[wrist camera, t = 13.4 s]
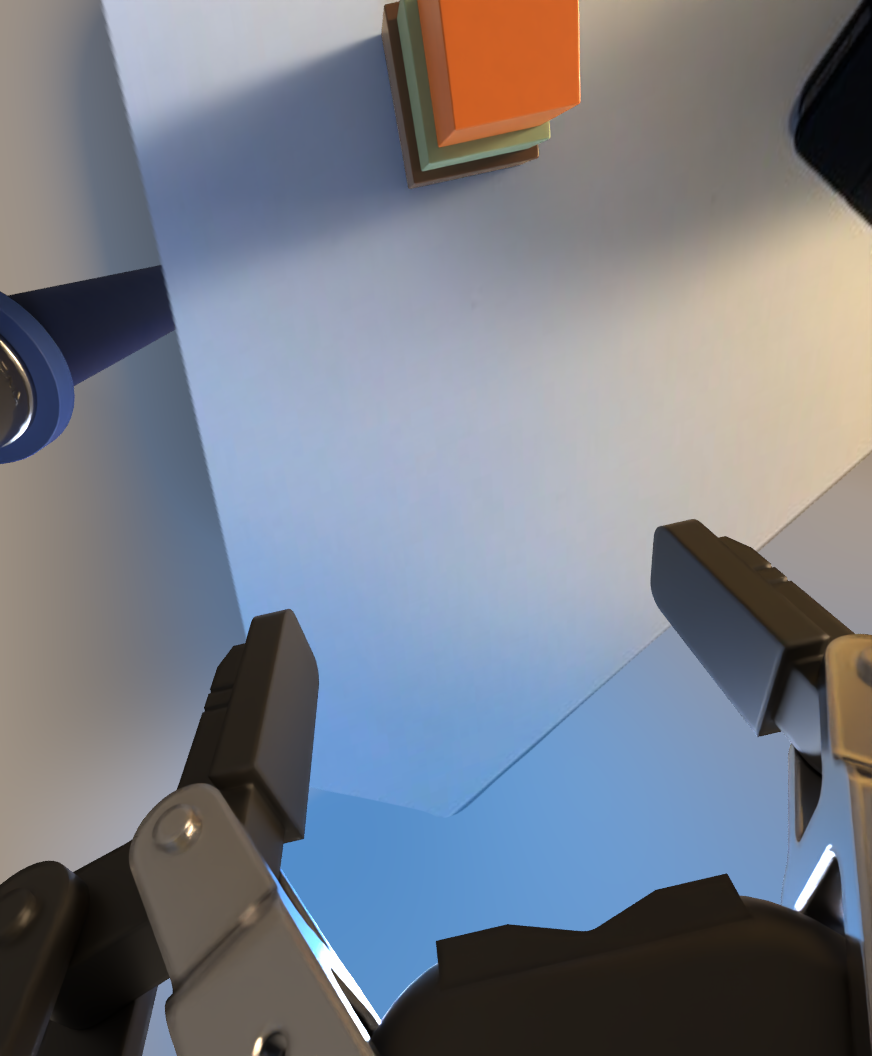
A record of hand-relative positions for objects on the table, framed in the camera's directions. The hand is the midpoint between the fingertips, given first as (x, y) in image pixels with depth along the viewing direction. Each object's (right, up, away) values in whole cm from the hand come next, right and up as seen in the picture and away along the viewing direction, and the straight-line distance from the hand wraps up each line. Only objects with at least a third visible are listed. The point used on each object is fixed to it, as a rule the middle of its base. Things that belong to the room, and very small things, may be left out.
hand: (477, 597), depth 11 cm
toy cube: (+1, +22, +11) cm, 25 cm away
